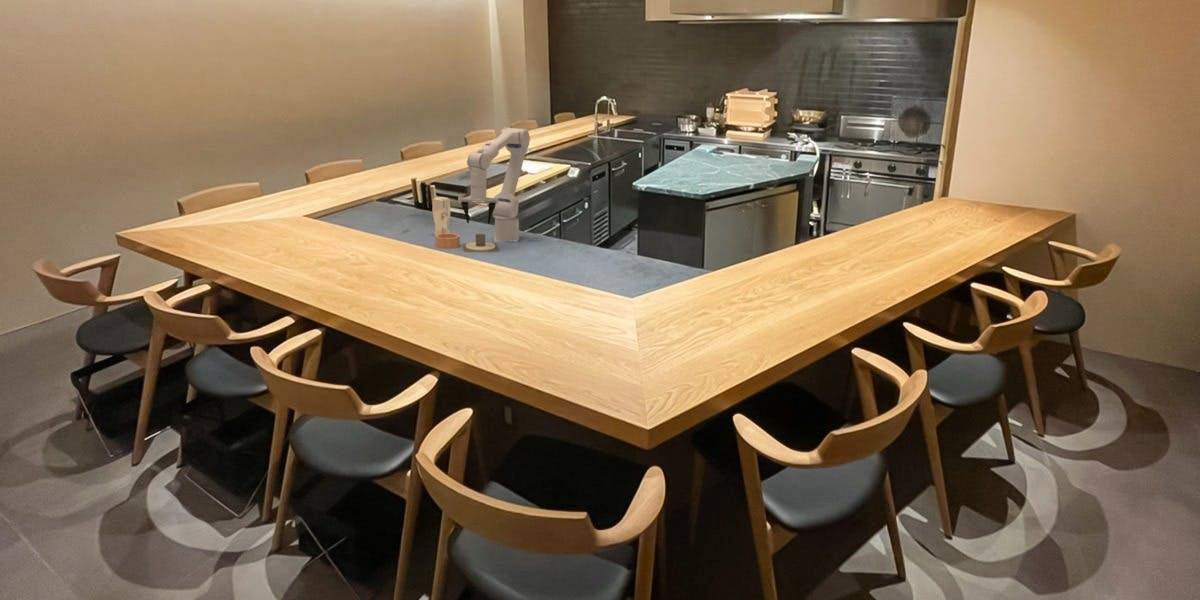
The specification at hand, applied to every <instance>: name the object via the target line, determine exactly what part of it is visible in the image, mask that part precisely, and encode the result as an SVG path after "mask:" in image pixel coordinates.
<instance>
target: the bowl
mask: <svg viewBox="0 0 1200 600" xmlns="http://www.w3.org/2000/svg"><path fill="white" fill-rule="evenodd" d="M460 243H461V239H460V234H457V233H451V232H450V233H443V234H438V235H436V236H435V247H437V248H440V249H456V248H459V247H460V246H461V244H460Z"/></svg>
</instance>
